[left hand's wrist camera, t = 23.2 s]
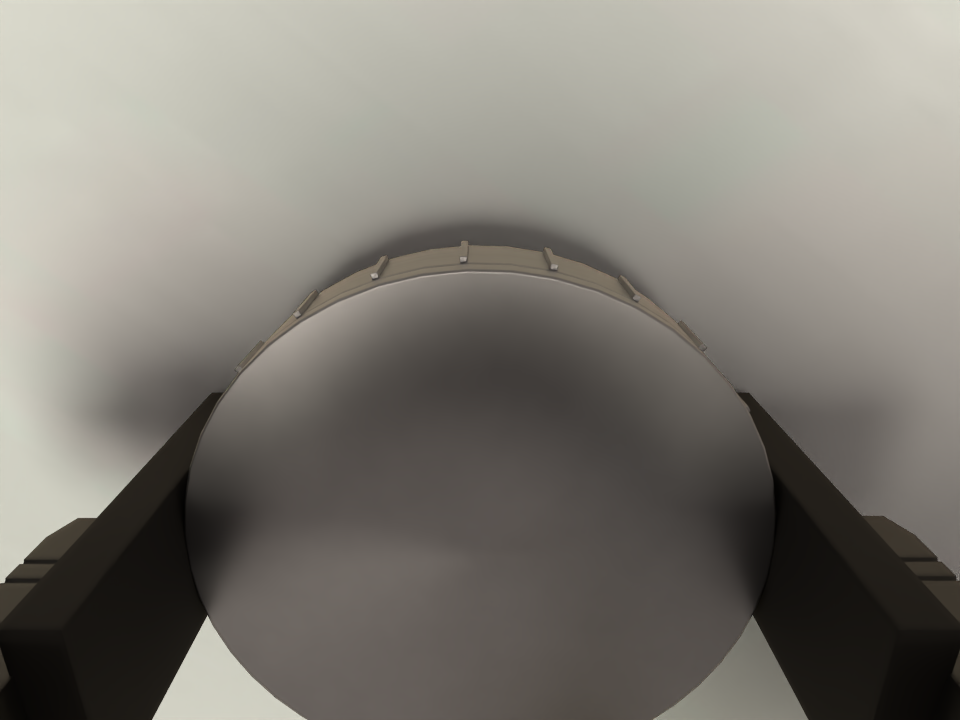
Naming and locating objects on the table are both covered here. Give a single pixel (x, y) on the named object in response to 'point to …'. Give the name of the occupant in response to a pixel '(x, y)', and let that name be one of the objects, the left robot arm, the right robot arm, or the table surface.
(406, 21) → the table surface
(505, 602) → the lid
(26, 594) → the left robot arm
